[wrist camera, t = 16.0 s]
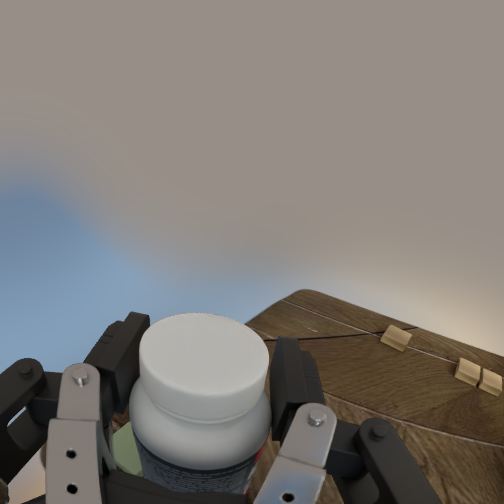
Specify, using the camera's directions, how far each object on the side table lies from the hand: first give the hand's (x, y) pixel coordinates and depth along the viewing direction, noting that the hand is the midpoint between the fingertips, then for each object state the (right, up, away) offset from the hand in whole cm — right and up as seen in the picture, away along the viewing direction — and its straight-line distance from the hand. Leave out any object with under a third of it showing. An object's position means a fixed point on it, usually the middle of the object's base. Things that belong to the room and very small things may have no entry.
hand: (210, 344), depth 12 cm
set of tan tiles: (+24, -9, +16) cm, 31 cm away
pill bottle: (-1, -8, 0) cm, 8 cm away
